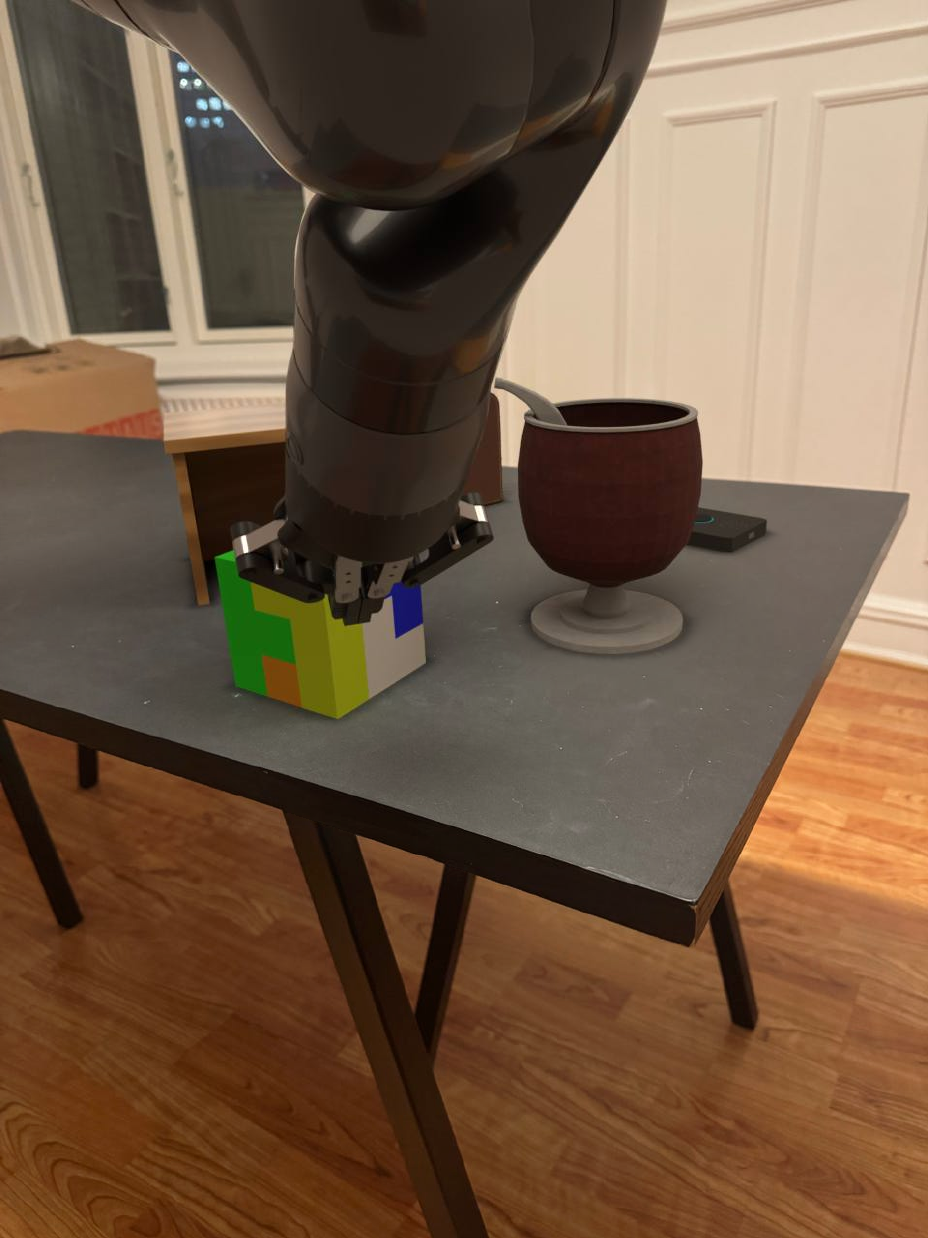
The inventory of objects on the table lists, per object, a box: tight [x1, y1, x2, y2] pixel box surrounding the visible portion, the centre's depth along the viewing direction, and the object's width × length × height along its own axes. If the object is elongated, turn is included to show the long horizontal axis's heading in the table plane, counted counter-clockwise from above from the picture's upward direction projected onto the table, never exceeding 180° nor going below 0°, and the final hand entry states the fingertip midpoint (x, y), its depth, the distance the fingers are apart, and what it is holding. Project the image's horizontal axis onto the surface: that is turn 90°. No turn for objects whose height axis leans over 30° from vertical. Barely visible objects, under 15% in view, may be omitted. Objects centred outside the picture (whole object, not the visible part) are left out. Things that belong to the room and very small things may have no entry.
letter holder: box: [461, 392, 504, 507], centre depth 104 cm, size 10×20×14 cm, turn 126°
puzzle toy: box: [214, 550, 427, 720], centre depth 64 cm, size 10×10×10 cm
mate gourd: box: [493, 376, 704, 655], centre depth 69 cm, size 16×14×20 cm
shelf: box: [162, 401, 286, 606], centre depth 86 cm, size 15×19×15 cm
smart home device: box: [686, 506, 768, 554], centre depth 96 cm, size 8×2×20 cm
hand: (352, 609), depth 50 cm, fingers closed
